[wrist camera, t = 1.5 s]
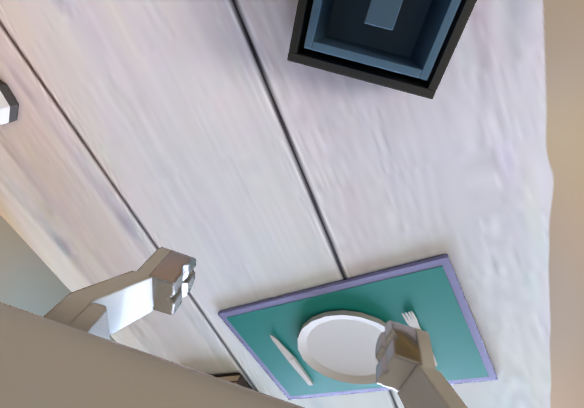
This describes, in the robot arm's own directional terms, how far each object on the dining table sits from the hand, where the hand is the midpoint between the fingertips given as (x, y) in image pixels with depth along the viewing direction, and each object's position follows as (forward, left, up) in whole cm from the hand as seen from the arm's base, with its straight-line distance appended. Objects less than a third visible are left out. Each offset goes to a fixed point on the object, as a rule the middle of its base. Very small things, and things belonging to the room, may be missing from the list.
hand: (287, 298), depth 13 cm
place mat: (+43, -13, -32) cm, 56 cm away
